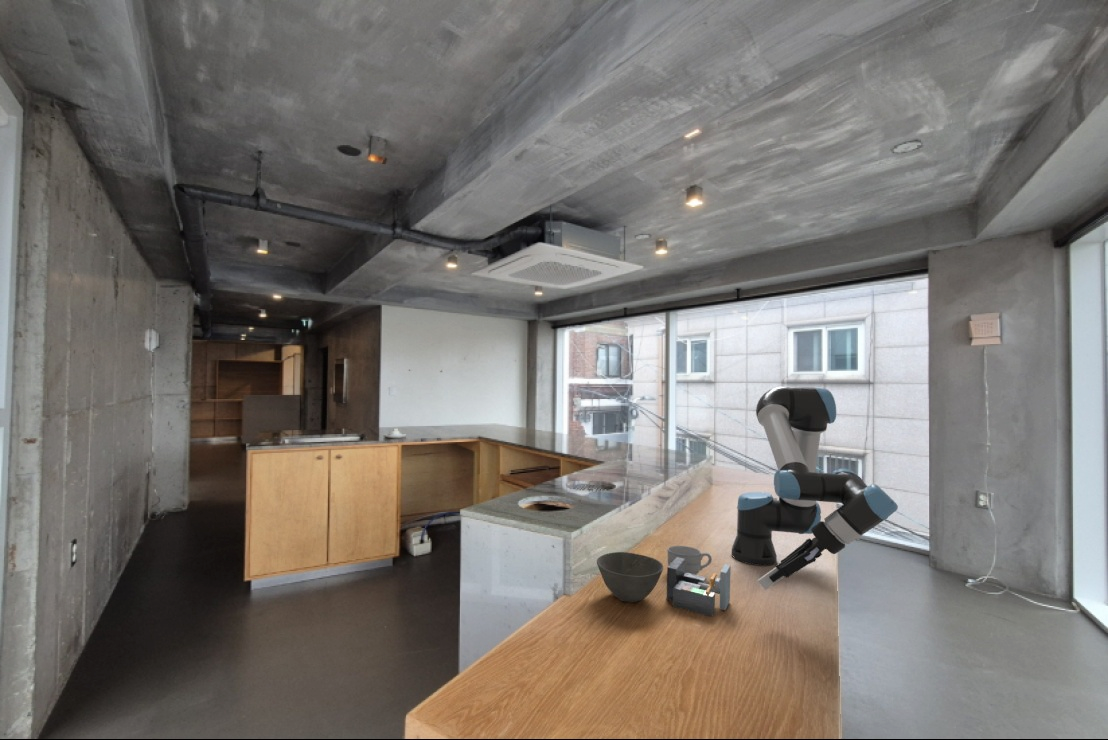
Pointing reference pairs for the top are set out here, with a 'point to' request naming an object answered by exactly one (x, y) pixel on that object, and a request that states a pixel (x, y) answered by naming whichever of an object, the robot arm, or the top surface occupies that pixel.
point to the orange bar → (711, 582)
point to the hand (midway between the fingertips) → (761, 584)
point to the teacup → (688, 558)
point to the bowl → (629, 574)
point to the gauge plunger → (721, 586)
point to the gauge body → (688, 590)
